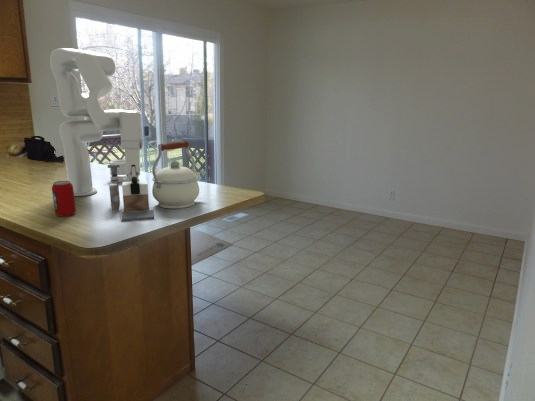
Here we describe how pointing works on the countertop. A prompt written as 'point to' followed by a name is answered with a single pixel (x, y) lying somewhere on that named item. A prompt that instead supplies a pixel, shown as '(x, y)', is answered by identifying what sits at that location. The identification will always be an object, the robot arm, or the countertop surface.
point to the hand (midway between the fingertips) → (135, 191)
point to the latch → (114, 173)
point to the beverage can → (63, 198)
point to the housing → (127, 199)
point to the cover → (127, 188)
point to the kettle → (175, 181)
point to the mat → (137, 215)
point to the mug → (120, 169)
